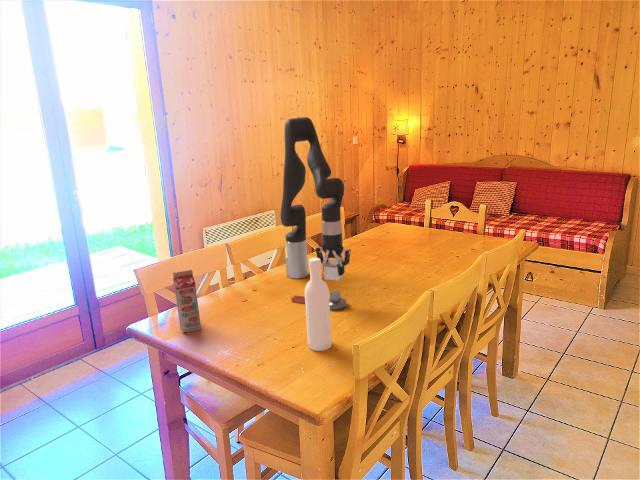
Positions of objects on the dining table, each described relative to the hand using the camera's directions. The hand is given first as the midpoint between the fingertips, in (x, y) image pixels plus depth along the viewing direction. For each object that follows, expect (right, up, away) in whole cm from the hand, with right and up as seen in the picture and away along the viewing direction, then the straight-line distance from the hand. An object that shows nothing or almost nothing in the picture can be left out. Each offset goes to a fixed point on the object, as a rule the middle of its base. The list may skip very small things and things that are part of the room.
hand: (334, 274), depth 187 cm
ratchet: (-6, -12, +7) cm, 15 cm away
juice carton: (-53, -19, -8) cm, 57 cm away
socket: (0, -1, 0) cm, 1 cm away
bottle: (-5, -22, -26) cm, 35 cm away
